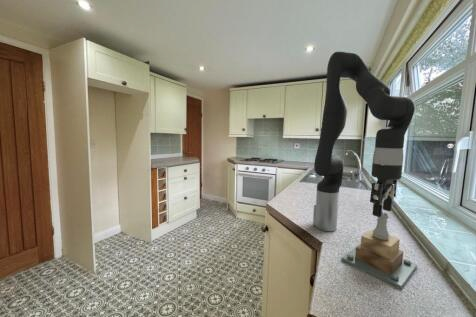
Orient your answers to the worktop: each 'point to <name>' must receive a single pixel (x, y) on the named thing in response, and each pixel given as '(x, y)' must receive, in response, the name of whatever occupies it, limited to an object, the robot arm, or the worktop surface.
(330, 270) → the worktop surface
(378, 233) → the rook chess piece
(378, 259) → the stepped wooden plinth
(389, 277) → the baseplate
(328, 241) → the worktop surface
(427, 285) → the worktop surface
